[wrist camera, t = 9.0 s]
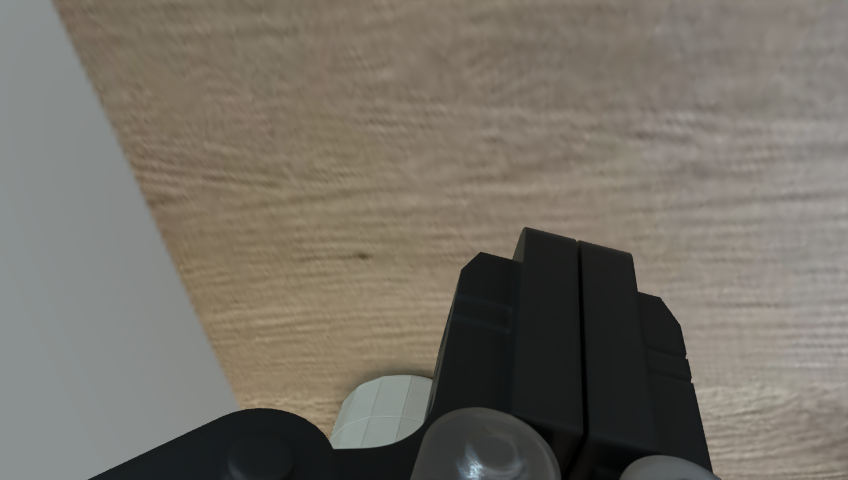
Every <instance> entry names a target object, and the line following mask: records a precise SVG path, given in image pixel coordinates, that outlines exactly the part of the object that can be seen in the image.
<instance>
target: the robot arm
mask: <svg viewBox="0 0 848 480" xmlns="http://www.w3.org/2000/svg"><path fill="white" fill-rule="evenodd" d="M686 354H687V353H686V348H685V344H684V339H683V335H682V330H681V326H680V324H679V323H678V321H677V320H676V319H675V317H674V316H673V314H672V313H671V312H670V310H669V309H668V308H667V306H666V305H665V303H664V302H663V301H662V299H661V298H660V297H657V296H653V295H649V294H645V293H641V292H638V289H637V283H636V276H635V269H634V263H633V257H632V255H631V254H630V253H628V252H624V251H620V250H616V249H612V248H608V247H604V246H600V245H596V244H592V243H588V242H584V241H580V240H579V241H577V242H576V240H575V239H572V238H568V237H564V236H560V235H556V234H552V233H548V232H544V231H540V230H536V229H532V228H528V227H524V228H523V230H522V233H521V235H520V238H519V241H518V244H517V247H516V250H515V253H514V256H513V259H512V260H511V259H507V258H503V257H499V256H495V255H491V254H487V253H483V252H480V253H479V254H478V255H477V256H476V257H474V258H473V259H472V260H471V261H470V262H469V263H468V264H467V265H466V266H465V267H464V268H463V269H461V273H460V277H459V280H458V284H457V287H456V291H455V294H454V298H453V302H452V305H451V309H450V312H449V316H448V320H447V323H446V327H445V330H444V334H443V338H442V341H441V345H440V348H439V352H438V357H437V362H436V366H435V371H434V376H433V381H432V385H431V389H430V394H429V399H428V404H427V408H426V412H425V417H424V422H423V424H422V426H421V427H420V428H419V429H417V430H416V431H415V432H414V433H412V434H411V435H409V436H408V437H406V438H404V439H402V440H400V441H397V442H395V443H392V444H389V445H384V446H380V447H371V448H347V449H333V447H332V445H331V443H330V441H329V440H328V439H327V437H326V436H325V435H324V433H322V432H321V431H320V430H319V429H318V428H317V427H316V426H315V425H313V424H312V423H311V422H309V421H308V420H306V419H304V418H302V417H300V416H298V415H296V414H293V413H290V412H286V411H283V410H277V409H269V408H255V409H245V410H241V411H237V412H233V413H230V414H228V415H225V416H222V417H220V418H218V419H216V420H214V421H211V422H209V423H207V424H205V425H203V426H201V427H199V428H197V429H194V430H192V431H190V432H188V433H186V434H184V435H182V436H180V437H177V438H175V439H173V440H171V441H169V442H167V443H165V444H163V445H160V446H158V447H156V448H154V449H152V450H150V451H148V452H146V453H144V454H142V455H139V456H137V457H135V458H133V459H131V460H129V461H127V462H124V463H122V464H120V465H118V466H116V467H114V468H112V469H109V470H107V471H105V472H103V473H101V474H99V475H97V476H95V477H92V478H90V479H88V480H721V479H720V478H719V477H717V476H716V475H714V474H713V470H712V466H711V461H710V457H709V452H708V448H707V443H706V439H705V434H704V430H703V425H702V421H701V416H700V412H699V407H698V403H697V398H696V394H695V389H694V385H693V383H691V378H692V376H691V371H690V367H689V362H688V359H686Z"/></svg>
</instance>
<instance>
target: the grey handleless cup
mask: <svg viewBox="0 0 848 480" xmlns="http://www.w3.org/2000/svg"><path fill="white" fill-rule="evenodd" d="M432 381H433V379H430V378H426V377H422V376H416V375H392V376H383V377H379V378H377V379H374V380H371V381H369V382H366V383H363V384H361V385H359V386H358V387H357V388H356V389H355V390H354V391H353V392H352V393H351V394H350V395H349V396H348V397H347V398H346V399H345V400H344V402H343V404H342V406H341V409H340V412H339V415H338V417H337V420H336V423H335V426H334V428H333V431H332V434H331V437H330V439H329V441H330V443H331V445H332V447H333V449H347V448H371V447H380V446H384V445H389V444H392V443H395V442H397V441H400V440H402V439H404V438H406V437H408V436H409V435H411V434H412V433H414V432H415V431H416V430H417V429H419V428H420V427H421V426H422V424H423V422H424V417H425V412H426V408H427V404H428V399H429V394H430V389H431V385H432Z"/></svg>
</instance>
